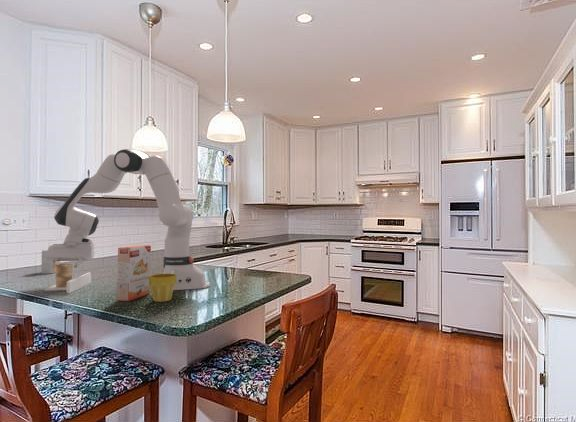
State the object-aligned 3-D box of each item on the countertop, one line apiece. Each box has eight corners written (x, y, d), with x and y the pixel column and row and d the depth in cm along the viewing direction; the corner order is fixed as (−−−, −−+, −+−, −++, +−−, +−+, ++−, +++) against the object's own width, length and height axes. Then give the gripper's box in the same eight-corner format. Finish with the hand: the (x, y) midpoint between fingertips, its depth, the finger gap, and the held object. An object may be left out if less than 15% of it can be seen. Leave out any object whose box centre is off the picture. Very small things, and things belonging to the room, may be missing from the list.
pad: (82, 284, 166) (82, 283, 166) (71, 290, 154) (71, 288, 154) (56, 285, 164) (56, 284, 164) (43, 290, 152) (43, 289, 152)
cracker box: (129, 301, 134) (130, 247, 134) (115, 301, 135) (116, 247, 136) (150, 293, 148) (151, 244, 148) (138, 293, 149) (138, 244, 149)
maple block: (71, 285, 161) (72, 263, 161) (68, 287, 157) (68, 264, 157) (60, 285, 160) (60, 263, 160) (56, 287, 156) (56, 265, 157)
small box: (53, 273, 196) (54, 250, 196) (40, 273, 195) (41, 250, 195) (59, 271, 204) (60, 248, 204) (47, 271, 203) (47, 249, 203)
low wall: (91, 282, 171) (91, 272, 171) (69, 293, 147) (69, 281, 147) (88, 282, 171) (88, 272, 171) (66, 293, 147) (66, 281, 147)
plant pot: (153, 296, 143) (153, 273, 143) (178, 296, 144) (179, 273, 144) (144, 303, 132) (144, 277, 133) (172, 303, 133) (172, 277, 133)
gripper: (48, 240, 165) (37, 263, 155) (94, 239, 169) (86, 262, 159) (52, 248, 169) (42, 271, 160) (98, 248, 173) (90, 270, 163)
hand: (64, 267), depth 159 cm, fingers open, 8 cm apart
